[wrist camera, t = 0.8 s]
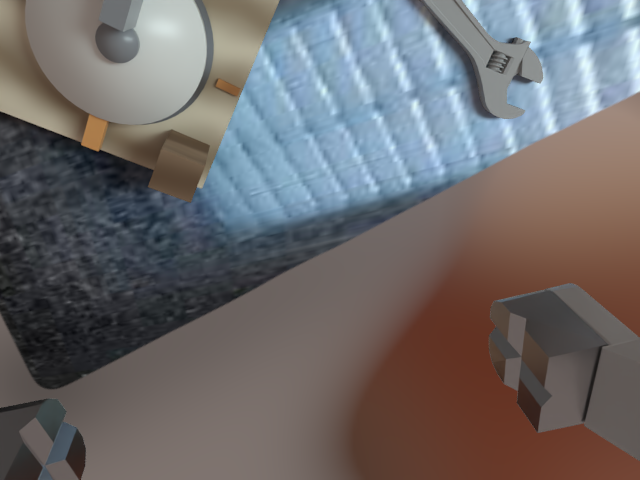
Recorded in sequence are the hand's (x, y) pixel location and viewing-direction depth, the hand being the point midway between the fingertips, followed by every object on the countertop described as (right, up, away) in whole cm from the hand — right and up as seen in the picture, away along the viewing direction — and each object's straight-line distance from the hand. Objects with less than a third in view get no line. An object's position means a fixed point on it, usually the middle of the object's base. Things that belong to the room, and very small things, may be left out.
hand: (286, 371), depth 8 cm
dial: (-15, +19, +28) cm, 37 cm away
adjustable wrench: (+13, +24, +32) cm, 42 cm away
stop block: (-12, +10, +33) cm, 37 cm away
